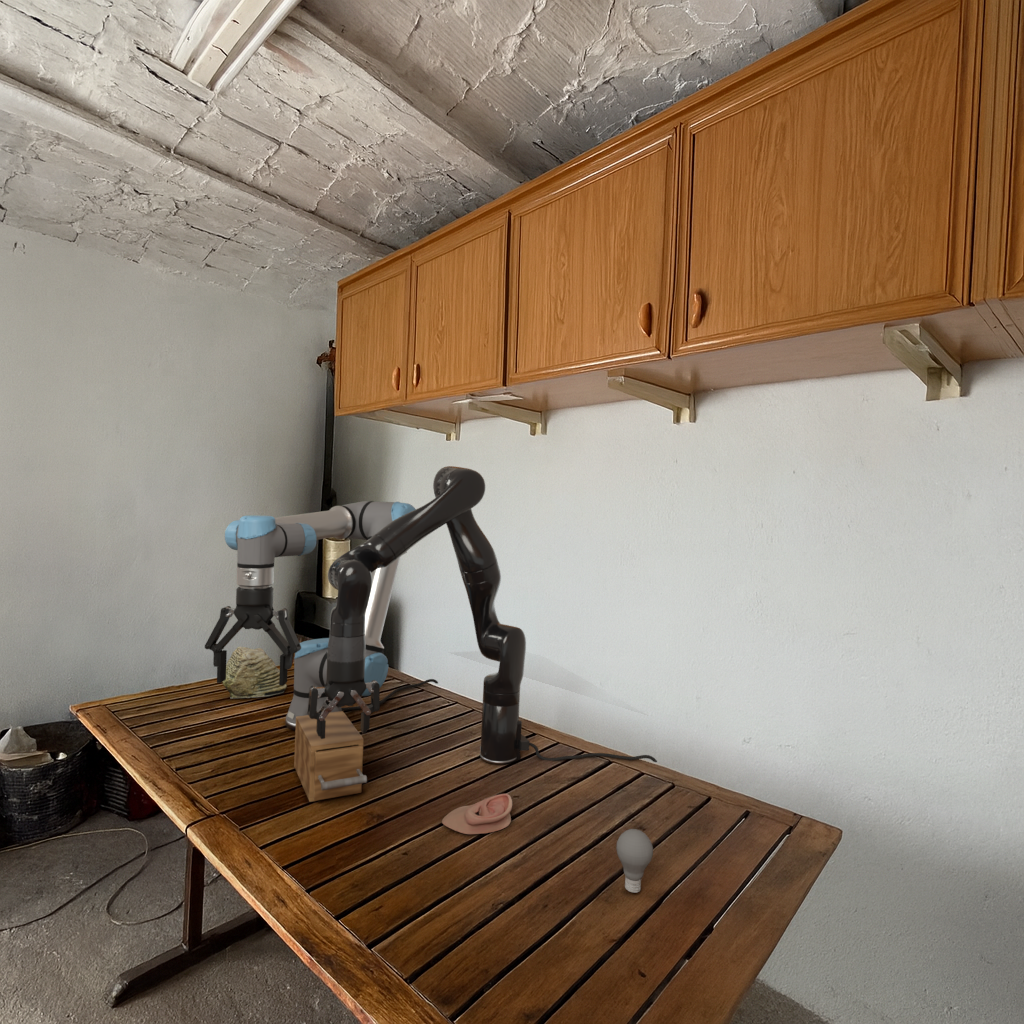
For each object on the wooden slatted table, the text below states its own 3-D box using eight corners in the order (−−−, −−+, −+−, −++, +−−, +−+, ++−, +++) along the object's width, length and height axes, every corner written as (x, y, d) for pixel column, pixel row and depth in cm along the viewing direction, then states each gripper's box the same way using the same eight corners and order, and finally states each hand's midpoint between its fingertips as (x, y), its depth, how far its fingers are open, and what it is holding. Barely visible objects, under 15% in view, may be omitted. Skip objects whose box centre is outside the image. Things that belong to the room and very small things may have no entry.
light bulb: (610, 879, 108) (613, 822, 108) (644, 879, 109) (647, 822, 109) (619, 902, 102) (622, 840, 102) (655, 901, 103) (658, 840, 103)
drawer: (367, 803, 130) (369, 756, 130) (319, 812, 125) (321, 764, 125) (341, 760, 150) (343, 719, 150) (299, 766, 146) (300, 725, 145)
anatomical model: (437, 809, 122) (454, 783, 133) (436, 829, 122) (453, 802, 133) (504, 819, 119) (516, 792, 131) (503, 840, 119) (515, 811, 131)
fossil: (218, 695, 195) (220, 647, 195) (278, 685, 208) (279, 640, 207) (228, 703, 189) (230, 653, 188) (289, 692, 201) (290, 645, 201)
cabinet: (361, 792, 136) (363, 739, 136) (309, 802, 131) (311, 746, 131) (341, 758, 153) (342, 710, 153) (293, 766, 148) (295, 716, 148)
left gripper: (189, 586, 135) (186, 685, 135) (306, 591, 135) (303, 690, 135) (206, 581, 142) (203, 675, 143) (317, 586, 142) (314, 679, 143)
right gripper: (314, 663, 123) (310, 746, 123) (385, 657, 130) (382, 736, 130) (307, 654, 129) (303, 733, 130) (375, 649, 136) (372, 724, 136)
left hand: (252, 682), depth 139 cm, fingers open, 13 cm apart
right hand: (343, 734), depth 130 cm, fingers open, 8 cm apart
